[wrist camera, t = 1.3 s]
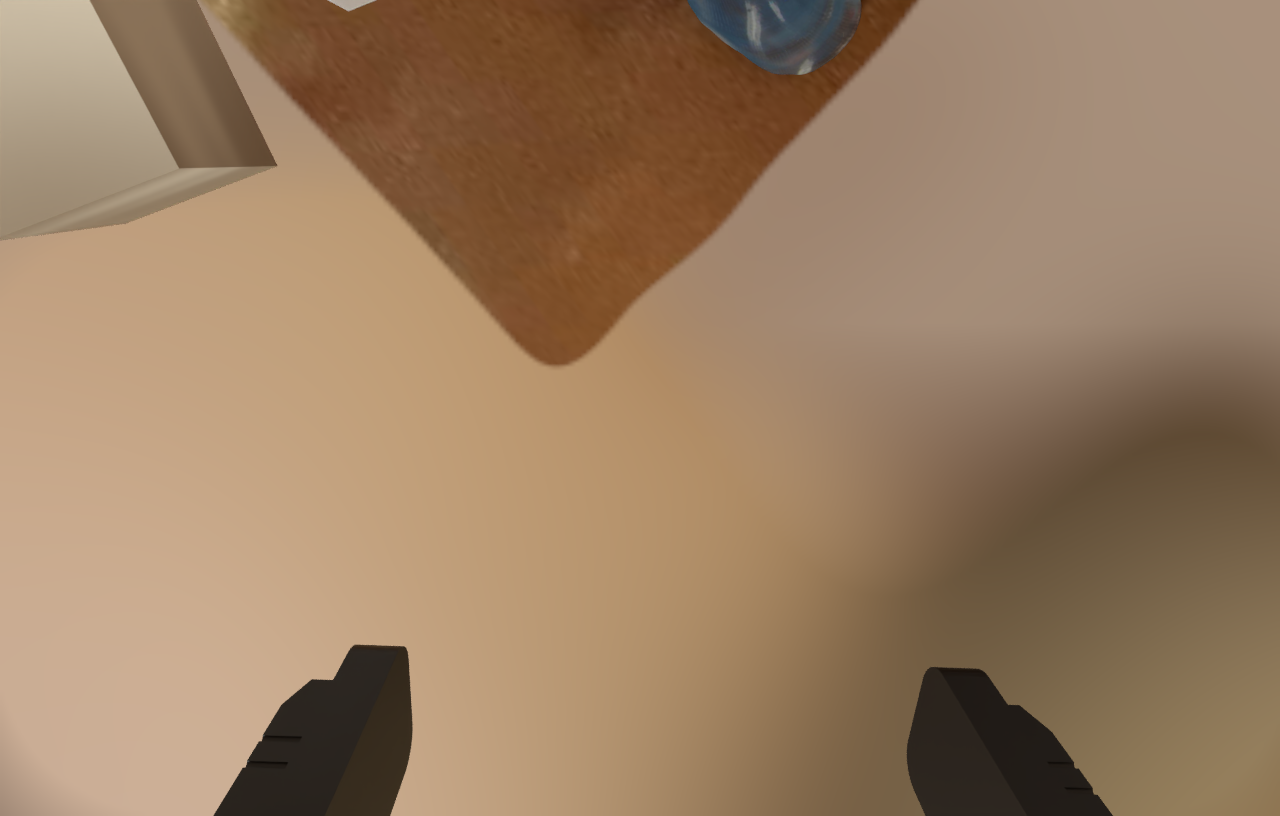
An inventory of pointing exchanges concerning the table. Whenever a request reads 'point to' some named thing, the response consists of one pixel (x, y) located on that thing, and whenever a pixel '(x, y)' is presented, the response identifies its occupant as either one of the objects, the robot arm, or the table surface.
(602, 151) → the table surface
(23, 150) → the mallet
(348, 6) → the stand
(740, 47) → the blue rounded lump
